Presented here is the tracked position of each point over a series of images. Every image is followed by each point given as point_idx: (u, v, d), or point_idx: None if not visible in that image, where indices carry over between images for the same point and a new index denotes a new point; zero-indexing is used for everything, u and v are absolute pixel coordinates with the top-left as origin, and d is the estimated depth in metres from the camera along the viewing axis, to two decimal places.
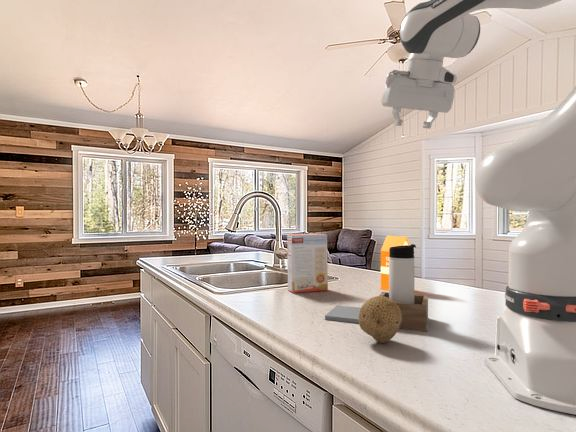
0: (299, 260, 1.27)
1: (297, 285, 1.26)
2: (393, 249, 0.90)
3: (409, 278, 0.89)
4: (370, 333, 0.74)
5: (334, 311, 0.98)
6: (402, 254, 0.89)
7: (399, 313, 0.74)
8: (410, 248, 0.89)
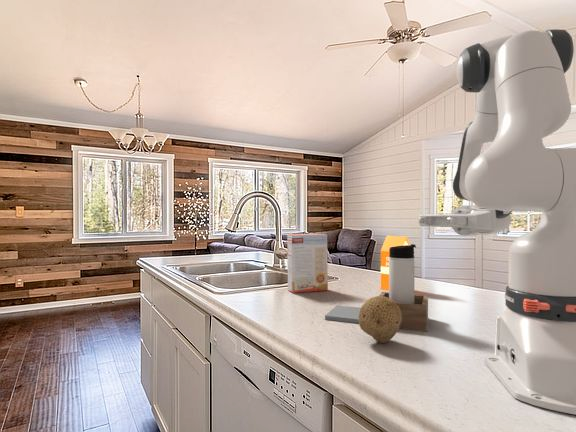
0: (299, 260, 1.27)
1: (297, 285, 1.26)
2: (393, 249, 0.90)
3: (409, 278, 0.89)
4: (370, 333, 0.74)
5: (334, 311, 0.98)
6: (402, 254, 0.89)
7: (399, 313, 0.74)
8: (410, 248, 0.89)
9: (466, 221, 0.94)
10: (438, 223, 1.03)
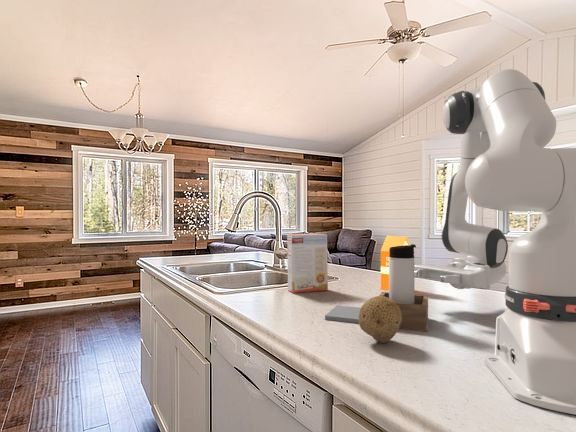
0: (299, 260, 1.27)
1: (297, 285, 1.26)
2: (393, 249, 0.90)
3: (409, 278, 0.89)
4: (370, 333, 0.74)
5: (334, 311, 0.98)
6: (402, 254, 0.89)
7: (399, 313, 0.74)
8: (410, 248, 0.89)
9: (460, 279, 0.92)
10: (432, 276, 1.01)
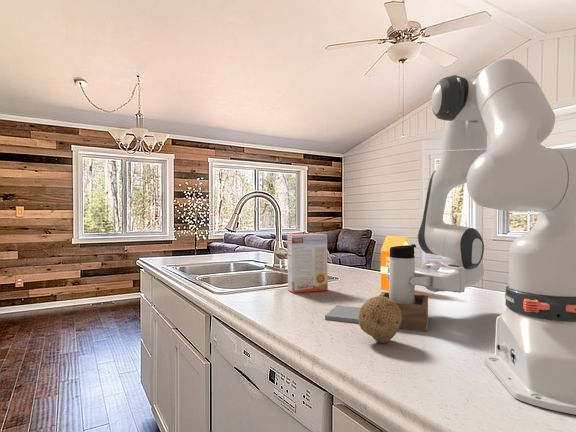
0: (299, 260, 1.27)
1: (297, 285, 1.26)
2: (393, 249, 0.90)
3: None
4: (370, 333, 0.74)
5: (334, 311, 0.98)
6: (402, 254, 0.89)
7: (399, 313, 0.74)
8: (410, 248, 0.89)
9: (429, 281, 0.89)
10: None
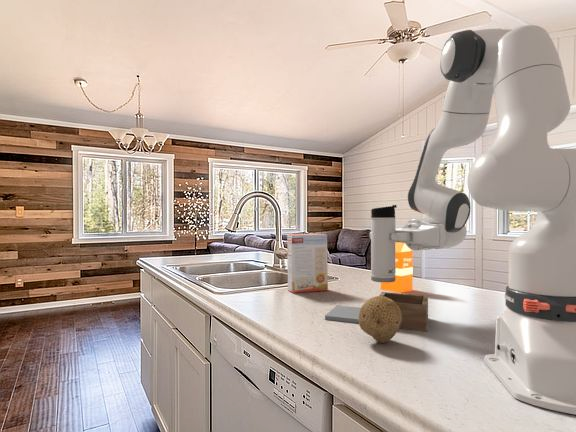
0: (299, 260, 1.27)
1: (297, 285, 1.26)
2: (374, 209, 0.93)
3: None
4: (370, 333, 0.74)
5: (334, 311, 0.98)
6: (382, 213, 0.91)
7: (399, 313, 0.74)
8: (391, 208, 0.91)
9: (409, 237, 0.91)
10: None
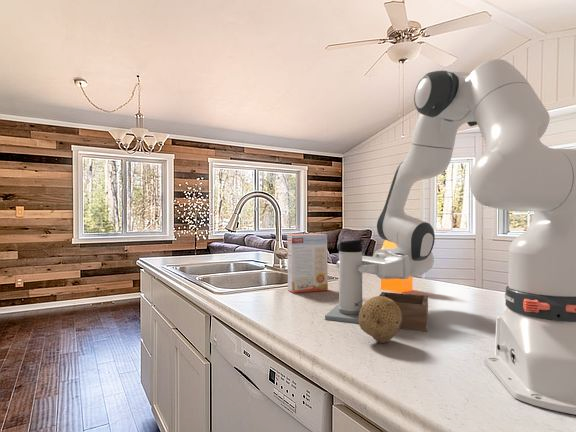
0: (299, 260, 1.27)
1: (297, 285, 1.26)
2: (341, 243, 0.96)
3: (356, 271, 0.94)
4: (370, 333, 0.74)
5: (334, 311, 0.98)
6: (349, 248, 0.94)
7: (399, 313, 0.74)
8: (357, 242, 0.94)
9: (377, 269, 0.93)
10: None
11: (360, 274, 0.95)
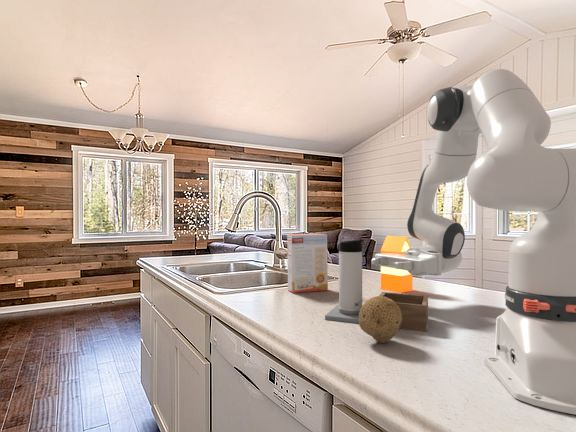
0: (299, 260, 1.27)
1: (297, 285, 1.26)
2: (341, 243, 0.96)
3: (356, 271, 0.94)
4: (370, 333, 0.74)
5: (334, 311, 0.98)
6: (349, 248, 0.94)
7: (399, 313, 0.74)
8: (357, 242, 0.94)
9: (412, 265, 0.99)
10: (390, 264, 1.08)
11: (360, 274, 0.95)
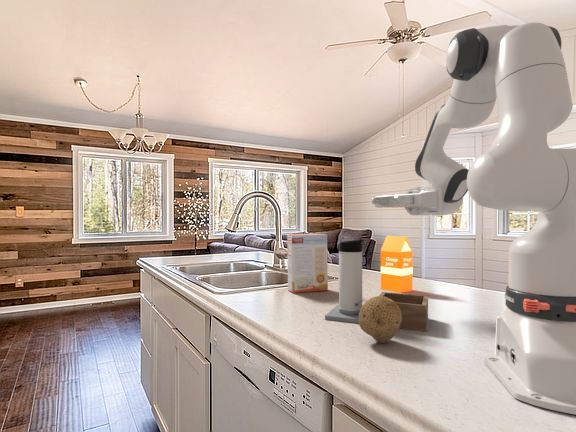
0: (299, 260, 1.27)
1: (297, 285, 1.26)
2: (341, 243, 0.96)
3: (356, 271, 0.94)
4: (370, 333, 0.74)
5: (334, 311, 0.98)
6: (349, 248, 0.94)
7: (399, 313, 0.74)
8: (357, 242, 0.94)
9: (412, 200, 0.99)
10: (390, 203, 1.08)
11: (360, 274, 0.95)
